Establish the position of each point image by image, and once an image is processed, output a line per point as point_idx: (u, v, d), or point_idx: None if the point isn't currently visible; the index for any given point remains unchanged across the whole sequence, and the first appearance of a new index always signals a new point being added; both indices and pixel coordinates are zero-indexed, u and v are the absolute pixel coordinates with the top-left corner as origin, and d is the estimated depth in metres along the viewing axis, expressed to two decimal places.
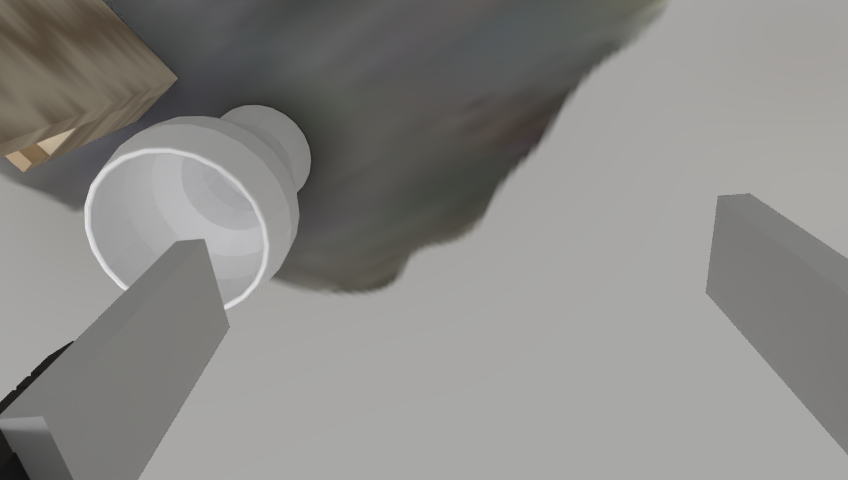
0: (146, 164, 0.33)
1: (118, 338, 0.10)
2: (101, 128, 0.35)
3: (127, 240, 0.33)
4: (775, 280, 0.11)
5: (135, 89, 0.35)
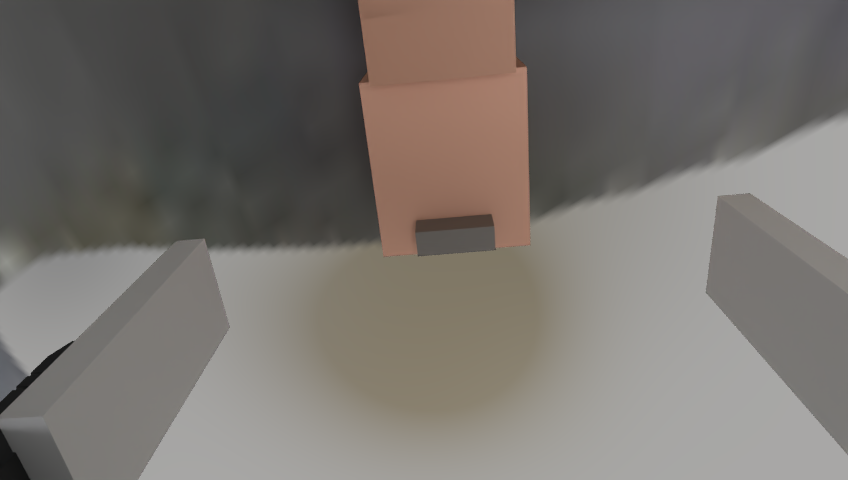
0: None
1: (118, 338, 0.10)
2: None
3: None
4: (776, 280, 0.11)
5: None
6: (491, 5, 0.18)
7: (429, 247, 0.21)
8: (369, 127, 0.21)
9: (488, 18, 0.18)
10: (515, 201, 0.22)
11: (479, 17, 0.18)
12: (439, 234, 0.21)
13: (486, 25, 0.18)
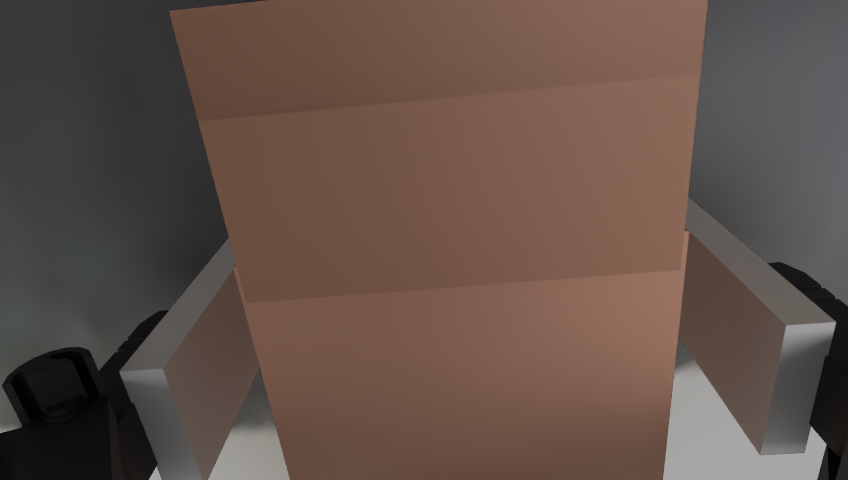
0: None
1: (211, 304, 0.11)
2: None
3: None
4: None
5: None
6: (623, 78, 0.05)
7: None
8: (270, 364, 0.08)
9: (608, 119, 0.06)
10: None
11: (581, 115, 0.06)
12: None
13: (602, 139, 0.06)
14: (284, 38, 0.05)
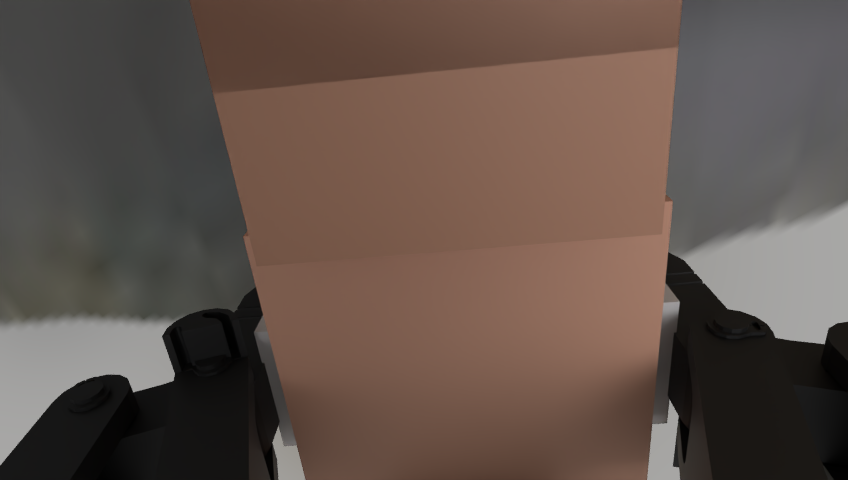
0: None
1: None
2: None
3: None
4: None
5: None
6: (606, 52, 0.06)
7: None
8: (277, 330, 0.09)
9: (593, 90, 0.06)
10: (616, 473, 0.10)
11: (568, 87, 0.06)
12: None
13: (587, 110, 0.06)
14: (294, 15, 0.06)
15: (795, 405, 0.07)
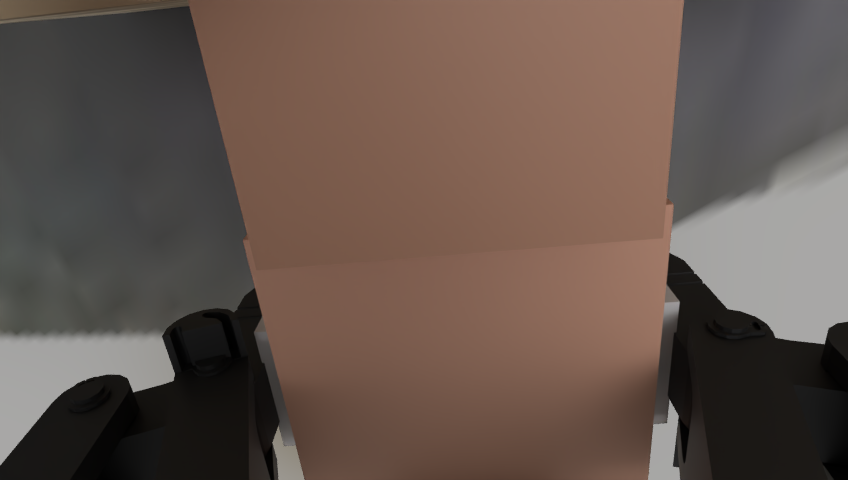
0: None
1: None
2: None
3: None
4: None
5: None
6: (607, 56, 0.06)
7: None
8: (277, 334, 0.09)
9: (593, 94, 0.06)
10: (617, 477, 0.10)
11: (568, 91, 0.06)
12: None
13: (588, 114, 0.06)
14: (293, 19, 0.06)
15: (795, 405, 0.07)
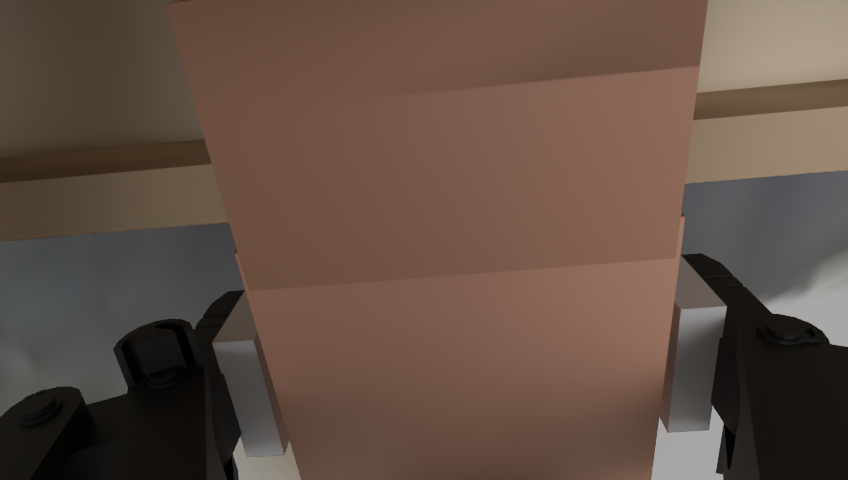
0: None
1: None
2: None
3: None
4: None
5: None
6: (622, 71, 0.05)
7: None
8: (273, 346, 0.08)
9: (606, 111, 0.06)
10: None
11: (580, 108, 0.06)
12: None
13: (600, 131, 0.06)
14: (282, 30, 0.05)
15: None
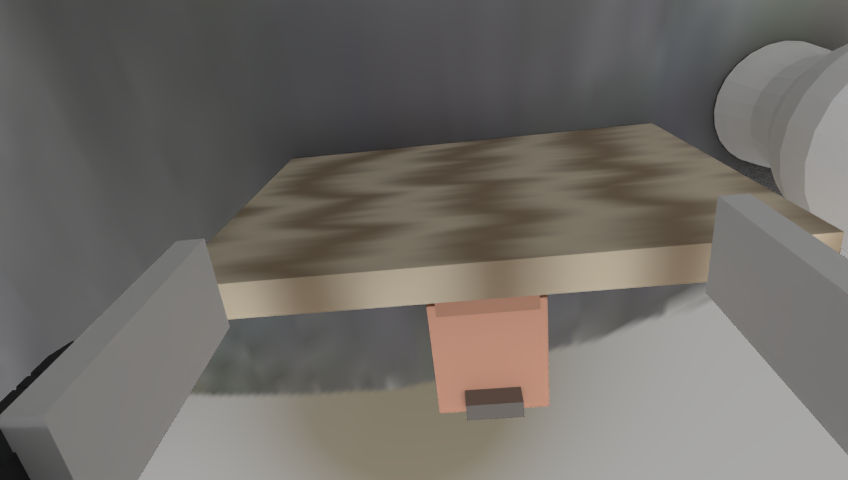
0: None
1: (118, 338, 0.10)
2: None
3: None
4: (776, 280, 0.11)
5: (682, 143, 0.31)
6: None
7: (476, 415, 0.29)
8: (432, 333, 0.29)
9: None
10: (538, 378, 0.30)
11: None
12: (483, 407, 0.29)
13: None
14: None
15: None
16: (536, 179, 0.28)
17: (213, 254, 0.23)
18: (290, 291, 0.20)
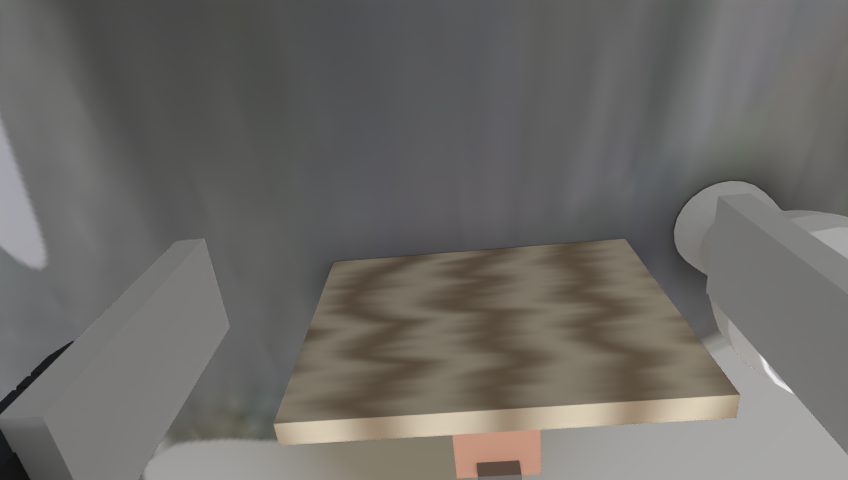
0: None
1: (118, 338, 0.10)
2: None
3: None
4: (775, 280, 0.11)
5: (645, 272, 0.40)
6: None
7: None
8: None
9: None
10: (533, 454, 0.39)
11: None
12: (491, 477, 0.39)
13: None
14: None
15: None
16: (533, 310, 0.37)
17: (301, 386, 0.32)
18: (363, 425, 0.30)
